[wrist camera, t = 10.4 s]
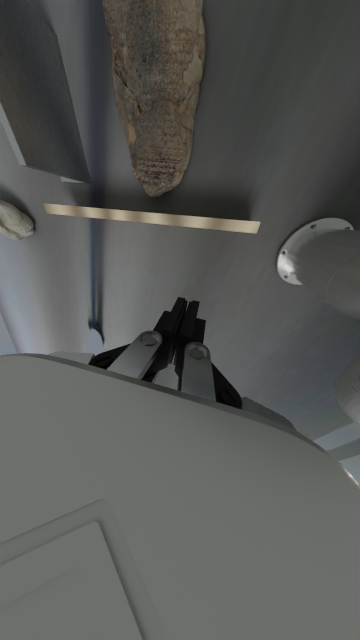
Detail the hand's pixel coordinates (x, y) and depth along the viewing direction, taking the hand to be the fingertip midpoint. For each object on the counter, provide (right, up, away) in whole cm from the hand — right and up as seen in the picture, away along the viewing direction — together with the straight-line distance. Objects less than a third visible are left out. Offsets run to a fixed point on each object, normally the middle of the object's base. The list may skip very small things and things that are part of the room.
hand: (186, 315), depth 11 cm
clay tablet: (-4, +34, +13) cm, 36 cm away
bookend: (-23, +37, +15) cm, 46 cm away
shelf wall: (-6, +23, +20) cm, 31 cm away
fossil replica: (-46, +28, +28) cm, 61 cm away
